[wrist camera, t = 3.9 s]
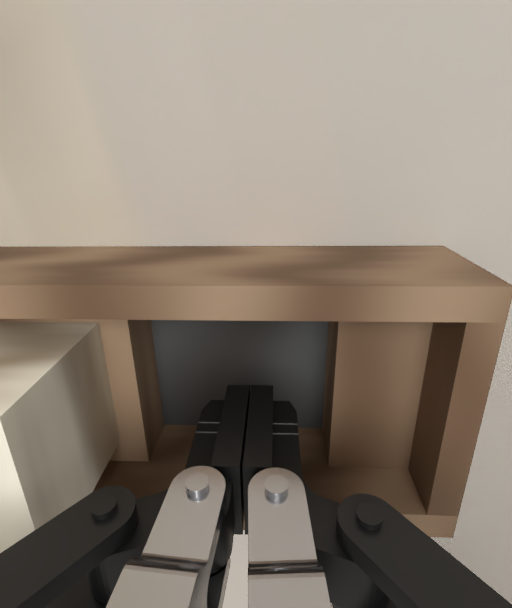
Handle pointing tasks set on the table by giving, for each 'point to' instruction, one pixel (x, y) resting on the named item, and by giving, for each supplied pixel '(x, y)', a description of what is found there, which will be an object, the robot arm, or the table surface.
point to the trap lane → (287, 355)
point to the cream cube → (51, 421)
